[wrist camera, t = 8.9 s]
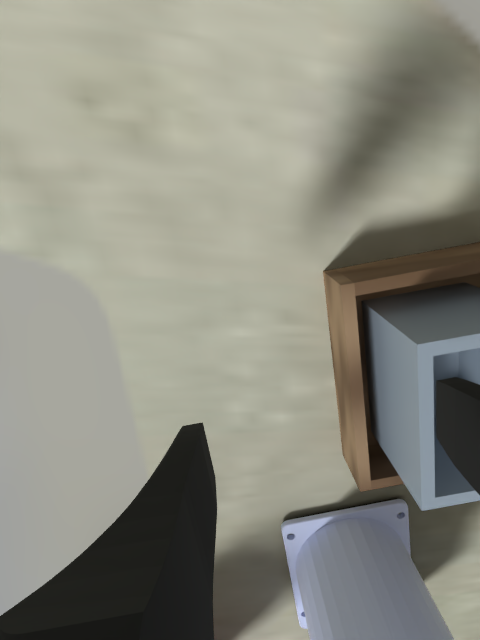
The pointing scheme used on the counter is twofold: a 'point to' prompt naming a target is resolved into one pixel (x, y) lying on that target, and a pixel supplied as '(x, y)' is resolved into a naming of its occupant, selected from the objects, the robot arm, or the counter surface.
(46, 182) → the counter surface
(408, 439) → the grey crate
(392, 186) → the counter surface
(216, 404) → the counter surface
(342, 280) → the walnut crate
